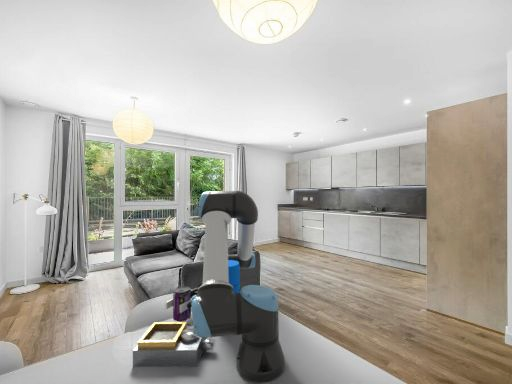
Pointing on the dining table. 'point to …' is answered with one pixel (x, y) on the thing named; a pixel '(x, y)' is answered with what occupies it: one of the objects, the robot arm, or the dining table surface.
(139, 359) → the grey holder stand
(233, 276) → the thermos
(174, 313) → the beverage can
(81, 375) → the dining table surface
